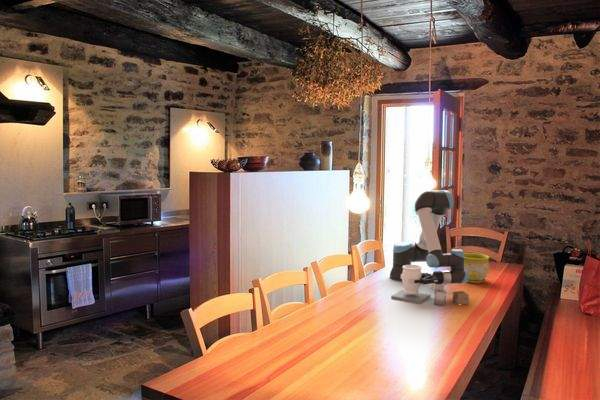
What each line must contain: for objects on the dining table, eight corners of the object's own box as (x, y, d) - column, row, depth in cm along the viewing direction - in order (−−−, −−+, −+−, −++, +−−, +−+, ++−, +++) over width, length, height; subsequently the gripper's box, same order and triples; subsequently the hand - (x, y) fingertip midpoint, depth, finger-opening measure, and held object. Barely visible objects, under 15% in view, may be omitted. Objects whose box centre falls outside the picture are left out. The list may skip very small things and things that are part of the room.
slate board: (402, 292, 297) (402, 289, 297) (430, 297, 287) (430, 294, 287) (391, 298, 284) (391, 295, 284) (420, 303, 274) (420, 301, 274)
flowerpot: (492, 284, 316) (493, 258, 314) (463, 284, 316) (464, 258, 314) (482, 277, 333) (483, 253, 332) (455, 277, 334) (456, 252, 332)
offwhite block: (430, 288, 306) (430, 278, 305) (439, 288, 307) (439, 278, 306) (434, 291, 300) (435, 281, 299) (444, 290, 301) (444, 280, 300)
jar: (419, 290, 290) (420, 264, 288) (422, 295, 280) (422, 268, 278) (400, 289, 291) (401, 264, 289) (402, 294, 281) (403, 268, 279)
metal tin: (436, 302, 278) (436, 289, 277) (447, 304, 275) (447, 291, 274) (432, 304, 273) (432, 292, 272) (443, 306, 270) (443, 294, 269)
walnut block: (452, 302, 278) (452, 291, 278) (462, 301, 279) (462, 291, 279) (457, 305, 272) (458, 294, 272) (468, 304, 274) (468, 294, 273)
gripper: (450, 289, 277) (412, 290, 273) (432, 278, 299) (396, 280, 295) (451, 275, 276) (412, 277, 272) (432, 266, 298) (397, 267, 294)
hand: (404, 278), depth 284 cm, fingers closed on jar, 10 cm apart
